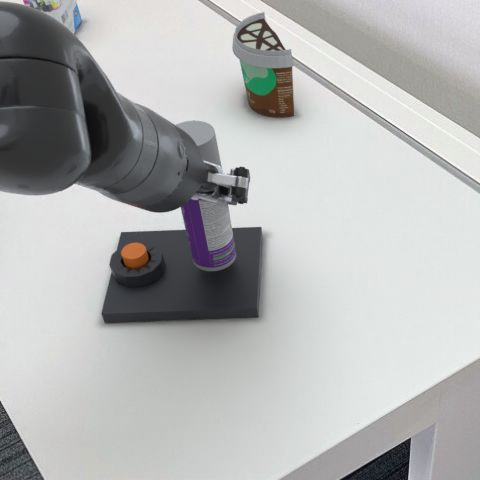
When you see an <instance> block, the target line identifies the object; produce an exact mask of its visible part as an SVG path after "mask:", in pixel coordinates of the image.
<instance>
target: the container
mask: <svg viewBox="0 0 480 480" xmlns="http://www.w3.org/2000/svg"><path fill="white" fill-rule="evenodd" d="M175 125H176V126H178V127H179V128H181V129H182V130H184V131H185V132H186V133H187V134H189V135H190V136H191V138H192V139H193V140H194V141H195V143H196V145H197V146H198V148H199V151H200V153H201V156H202V158H203V160H205V161H207V162H210V163H213V164H216V165H219V166H220V167H221V168H222V169H223V166H222V160H221V155H220V150H219V145H218V140H217V135H216V131H215V128H214V126H212V125H211V124H210V123H208V122H206V121H202V120H186V121H182V122H179V123H177V124H175ZM222 172H223V173H224V171H223V170H222ZM180 210H181V215H182V220H183V224H184V228H185V229H184V230H186V234H187V238H188V243H189V247H190V252H191V256H192V260H193V263H194V265H195V266H196V267H198V268H199V269H202V270H205V271H218V270H222V269H224V268H227V267H228V266H230V265H231V264H232V263H233V262H234V260H235V258H236V250H235V244H234V238H233V231H232V228H233V227H232V220H231V213H230V207H229V204H227V203H223V202H222V201H220V200H218V201H217V202H216V203H213V202H203V201H200V200H189V201H188V202H187V203H186V204H184V205H183V206H181V207H180Z"/></svg>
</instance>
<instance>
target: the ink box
mask: <svg viewBox="0 0 480 480" xmlns="http://www.w3.org/2000/svg"><path fill="white" fill-rule="evenodd" d="M22 2H23V5H26V6H30V7H32V8H35V9H37V10H40V11H42V12H44V13H46V14H48V15H49V16H51V17H53V18H54V19H56V20H58V21H59V22H61V23H62V24H63V25H65V26H66V27H67V28H68V29H69V30H70V31H71V32H72V33H73V34H74V35H75V33H76V31H77V29H78V28H79V26H80V24H81V23H82V21H83V19H82V16H81V12H80V9H79V5H78V2H77V0H22Z"/></svg>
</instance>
